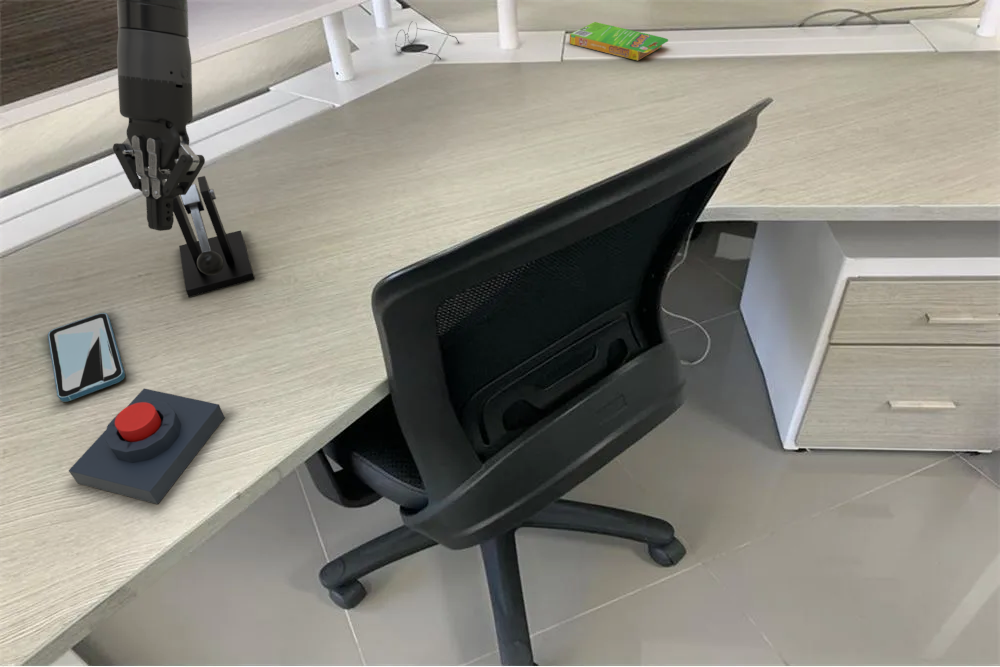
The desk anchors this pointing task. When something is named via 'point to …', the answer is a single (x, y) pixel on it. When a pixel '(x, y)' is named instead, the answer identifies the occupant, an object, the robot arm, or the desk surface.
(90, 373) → the smartphone
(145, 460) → the button block
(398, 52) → the eyeglasses
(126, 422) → the button
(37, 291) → the desk surface
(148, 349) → the desk surface
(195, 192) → the switch lever
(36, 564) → the desk surface
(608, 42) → the game box
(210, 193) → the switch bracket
